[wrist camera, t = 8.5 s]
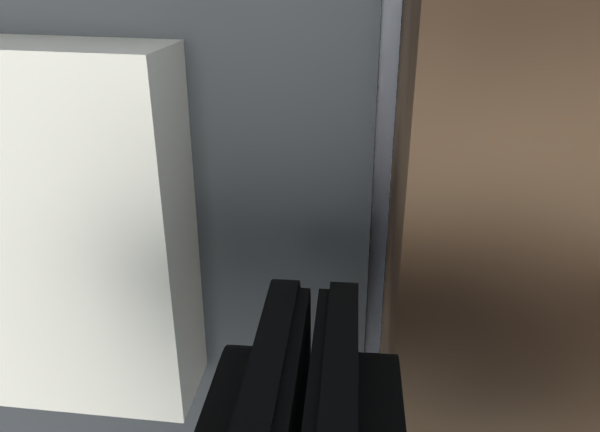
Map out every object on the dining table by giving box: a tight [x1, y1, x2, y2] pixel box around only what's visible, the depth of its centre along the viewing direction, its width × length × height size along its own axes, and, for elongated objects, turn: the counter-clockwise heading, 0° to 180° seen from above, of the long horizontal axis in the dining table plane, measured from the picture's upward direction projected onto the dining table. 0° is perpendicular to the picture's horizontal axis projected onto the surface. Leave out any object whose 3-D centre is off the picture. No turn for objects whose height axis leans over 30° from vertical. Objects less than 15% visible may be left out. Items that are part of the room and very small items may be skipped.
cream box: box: [0, 34, 207, 423], centre depth 14 cm, size 10×7×2 cm
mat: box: [0, 0, 382, 432], centre depth 15 cm, size 18×14×1 cm
